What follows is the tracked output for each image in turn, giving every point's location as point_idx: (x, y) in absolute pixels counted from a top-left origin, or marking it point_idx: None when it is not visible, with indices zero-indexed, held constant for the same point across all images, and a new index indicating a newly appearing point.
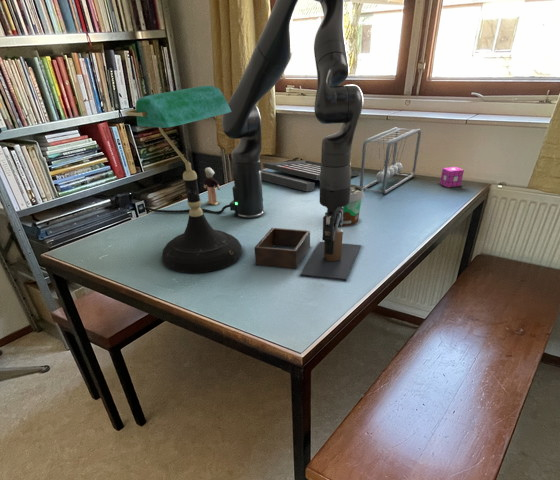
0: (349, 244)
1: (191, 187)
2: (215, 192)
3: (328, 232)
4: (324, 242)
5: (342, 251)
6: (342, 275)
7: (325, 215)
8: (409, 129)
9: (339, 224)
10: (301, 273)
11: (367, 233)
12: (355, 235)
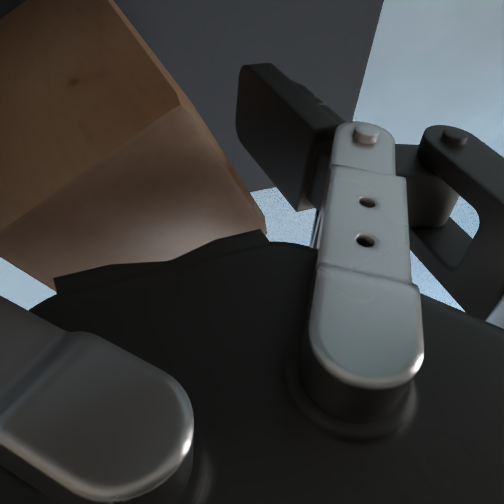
0: (349, 110)
1: None
2: None
3: (24, 221)
4: (94, 32)
5: (231, 101)
6: None
7: (40, 475)
8: None
9: (310, 243)
10: None
11: (490, 142)
12: (486, 89)
